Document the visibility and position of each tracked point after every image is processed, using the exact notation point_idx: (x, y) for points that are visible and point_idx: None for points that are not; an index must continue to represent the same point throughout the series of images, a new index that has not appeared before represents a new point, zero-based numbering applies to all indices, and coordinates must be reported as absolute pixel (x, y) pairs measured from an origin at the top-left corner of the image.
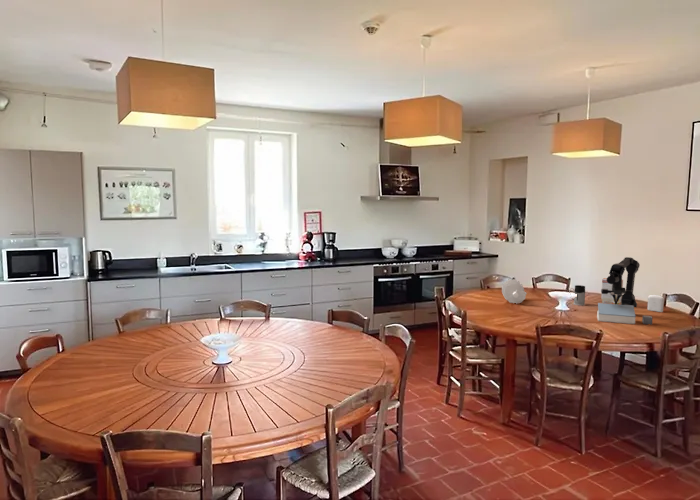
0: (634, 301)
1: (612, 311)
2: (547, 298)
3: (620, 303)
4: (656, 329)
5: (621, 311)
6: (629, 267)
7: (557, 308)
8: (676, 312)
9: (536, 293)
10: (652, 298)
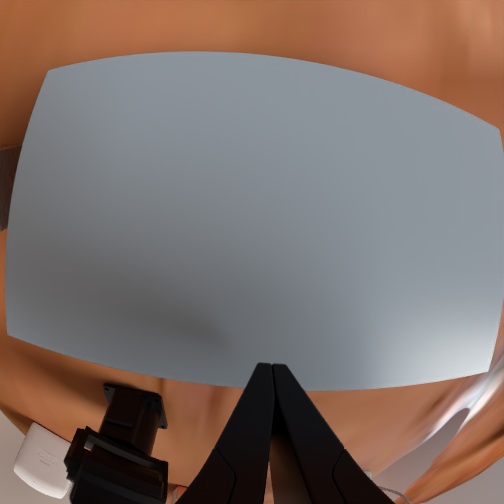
0: (68, 462)
1: (358, 143)
2: (415, 482)
3: (176, 494)
4: (12, 13)
5: (195, 144)
6: None
7: (487, 394)
8: (7, 413)
9: (408, 498)
10: (47, 480)
